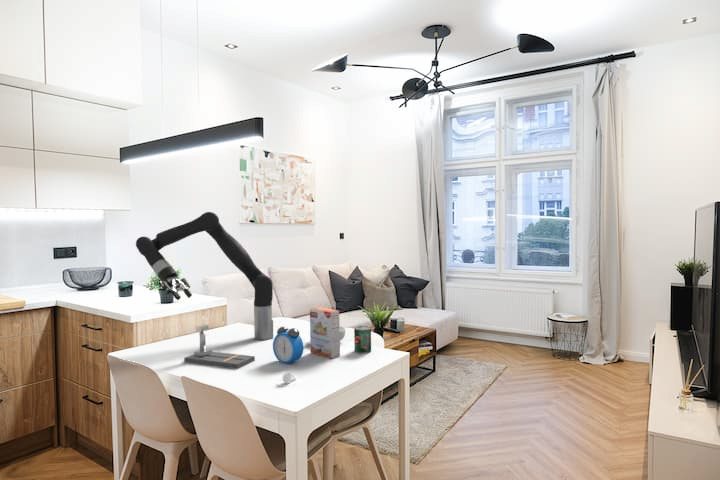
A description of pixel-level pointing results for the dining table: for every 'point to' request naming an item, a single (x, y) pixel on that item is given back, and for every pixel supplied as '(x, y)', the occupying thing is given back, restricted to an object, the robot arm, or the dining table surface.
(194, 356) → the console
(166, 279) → the robot arm
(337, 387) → the dining table surface
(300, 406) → the dining table surface
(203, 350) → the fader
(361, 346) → the canned tomato
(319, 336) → the cracker box
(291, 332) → the alarm clock
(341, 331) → the cereal bowl
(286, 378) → the teacup and saucer
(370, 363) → the dining table surface
